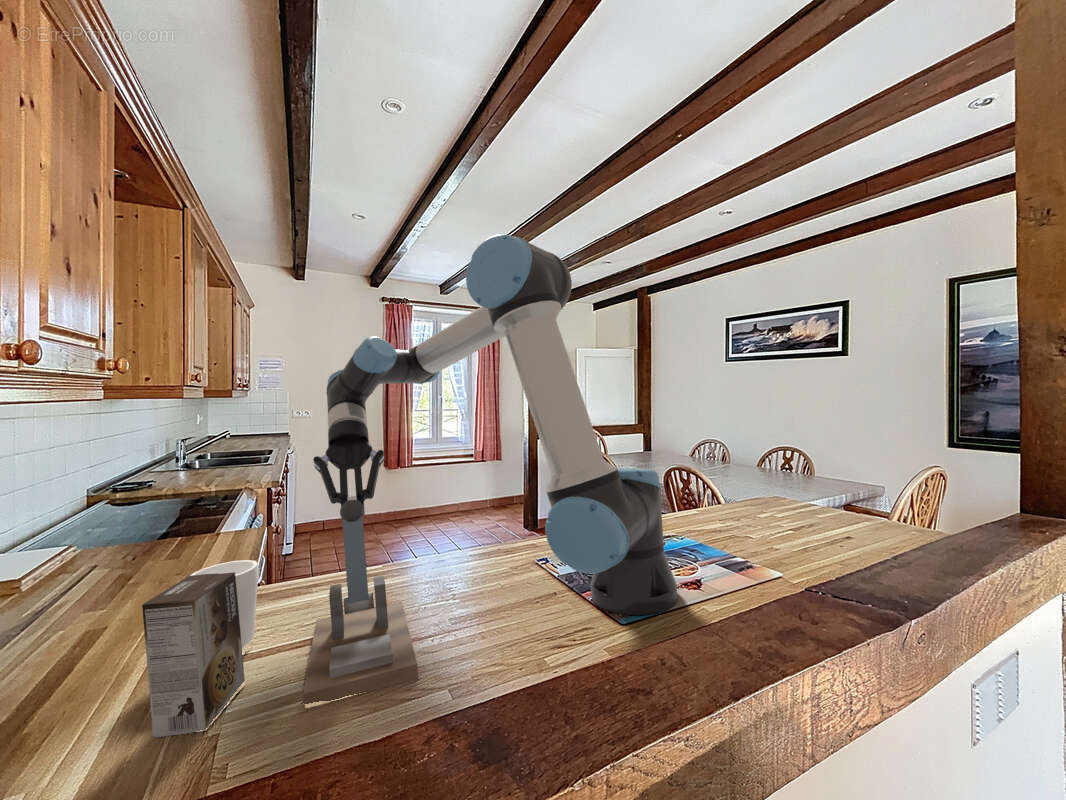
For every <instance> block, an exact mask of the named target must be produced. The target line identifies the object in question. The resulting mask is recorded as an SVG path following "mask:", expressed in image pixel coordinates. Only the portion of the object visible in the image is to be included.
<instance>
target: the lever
mask: <svg viewBox="0 0 1066 800" xmlns="http://www.w3.org/2000/svg"><path fill="white" fill-rule="evenodd" d="M364 511H365V506H364V507H363V505H362V503H361V502H359V501H357V500H349V501H347V502H345V503H344V504H343V505H342V507H341V506H340V509H339V515H340V517H341V519H342V520H341V521H342V531H343V532H342V535H343V547H344V560H345V561H344V562H345V574H346V584H347V586H346V588H347V597H343V614H349V613H354V612H359V611H363V610H368V609H373V608H374V607H375V601H374V600H375V599H374V593H373V592H374V591H373V592H369V585H368V584H369V583H368V571H367V557H366V545H365V532H364V518H363V517H364V516H363V514H364ZM364 515H365V514H364Z"/></svg>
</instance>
